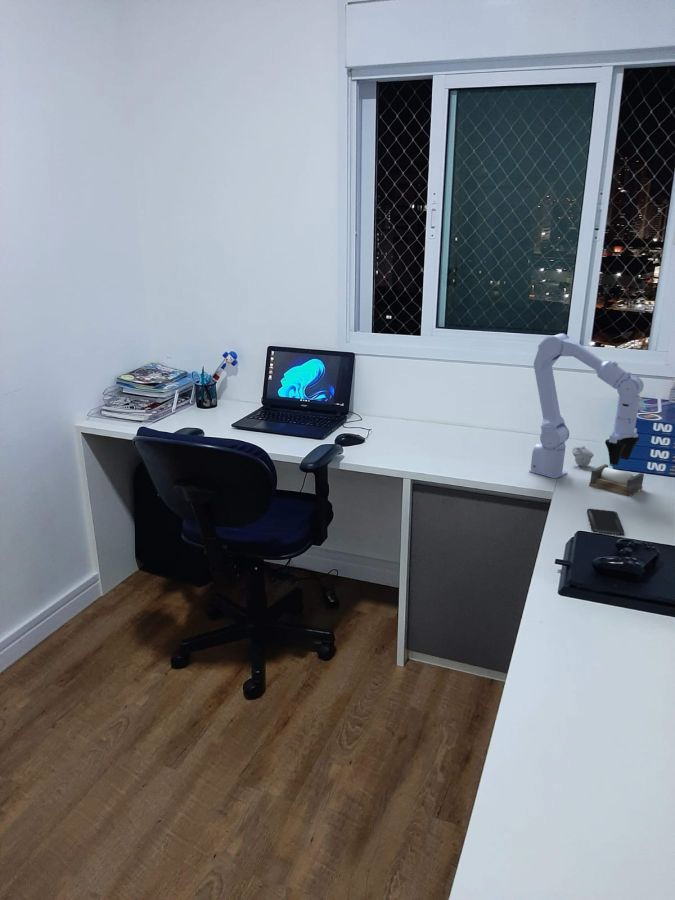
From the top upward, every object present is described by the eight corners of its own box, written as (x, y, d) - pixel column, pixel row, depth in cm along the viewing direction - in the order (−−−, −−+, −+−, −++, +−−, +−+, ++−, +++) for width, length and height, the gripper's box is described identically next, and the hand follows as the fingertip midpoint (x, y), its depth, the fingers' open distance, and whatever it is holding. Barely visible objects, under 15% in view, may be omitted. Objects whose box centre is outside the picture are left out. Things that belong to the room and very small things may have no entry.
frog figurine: (572, 461, 226) (574, 442, 224) (593, 465, 223) (596, 445, 221) (568, 466, 221) (570, 446, 219) (590, 470, 218) (593, 449, 216)
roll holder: (589, 485, 204) (591, 470, 202) (602, 479, 210) (604, 464, 208) (629, 496, 195) (632, 480, 194) (642, 489, 201) (644, 473, 200)
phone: (592, 529, 170) (586, 508, 184) (591, 533, 170) (586, 511, 184) (625, 533, 168) (617, 511, 182) (624, 537, 168) (616, 515, 182)
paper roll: (599, 482, 203) (602, 468, 202) (606, 479, 206) (608, 466, 205) (626, 489, 198) (628, 475, 196) (632, 486, 201) (634, 472, 199)
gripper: (629, 424, 188) (622, 469, 192) (649, 416, 198) (642, 459, 202) (604, 419, 193) (598, 464, 197) (626, 411, 203) (619, 454, 207)
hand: (619, 461), depth 200 cm, fingers open, 7 cm apart
